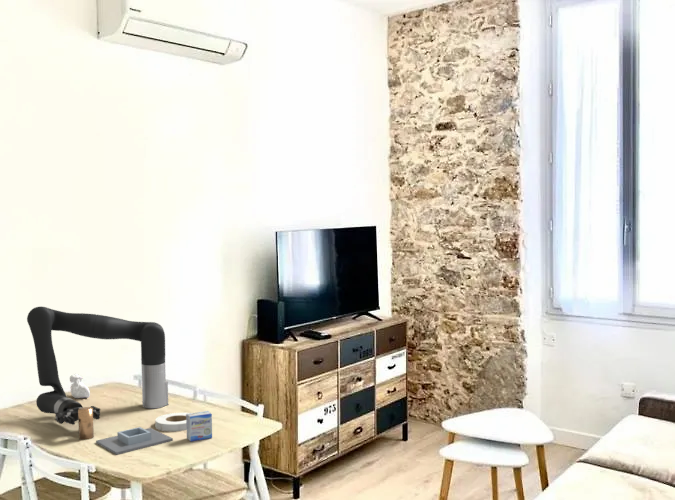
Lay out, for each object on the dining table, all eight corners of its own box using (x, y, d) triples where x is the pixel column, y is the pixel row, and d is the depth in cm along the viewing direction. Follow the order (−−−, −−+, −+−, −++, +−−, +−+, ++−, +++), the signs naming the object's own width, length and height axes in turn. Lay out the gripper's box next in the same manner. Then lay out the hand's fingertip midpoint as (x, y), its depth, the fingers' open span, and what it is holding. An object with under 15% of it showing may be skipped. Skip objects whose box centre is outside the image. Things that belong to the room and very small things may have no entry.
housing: (150, 430, 249) (150, 420, 249) (172, 440, 238) (172, 431, 237) (96, 442, 236) (95, 433, 236) (116, 454, 224) (116, 444, 224)
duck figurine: (72, 400, 299) (55, 382, 293) (85, 386, 303) (69, 369, 297) (86, 405, 291) (69, 387, 285) (99, 391, 295) (83, 373, 289)
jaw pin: (90, 434, 245) (89, 406, 245) (96, 437, 242) (95, 409, 241) (76, 437, 242) (75, 408, 242) (82, 440, 239) (81, 411, 238)
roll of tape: (170, 417, 265) (170, 410, 265) (206, 421, 260) (206, 414, 260) (146, 430, 251) (146, 422, 251) (183, 434, 246) (183, 426, 245)
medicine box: (189, 442, 236) (189, 416, 236) (186, 438, 240) (185, 413, 240) (212, 438, 240) (212, 413, 239) (208, 434, 244) (208, 410, 243)
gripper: (47, 403, 248) (65, 412, 236) (87, 395, 258) (105, 404, 246) (48, 423, 249) (65, 434, 237) (87, 415, 258) (106, 425, 246)
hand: (86, 419), depth 241 cm, fingers open, 8 cm apart
